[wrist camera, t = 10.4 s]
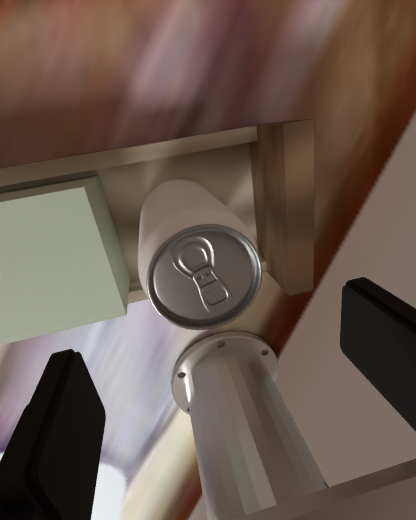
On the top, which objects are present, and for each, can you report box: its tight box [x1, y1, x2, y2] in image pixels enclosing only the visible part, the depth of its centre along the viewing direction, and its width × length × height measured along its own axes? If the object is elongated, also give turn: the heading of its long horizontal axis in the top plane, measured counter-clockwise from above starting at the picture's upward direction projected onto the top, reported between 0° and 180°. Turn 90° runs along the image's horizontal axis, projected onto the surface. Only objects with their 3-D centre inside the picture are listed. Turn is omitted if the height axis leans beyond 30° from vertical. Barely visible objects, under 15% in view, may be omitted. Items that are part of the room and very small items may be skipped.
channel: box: [0, 119, 315, 304], centre depth 21 cm, size 12×30×8 cm, turn 99°
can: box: [138, 179, 262, 330], centre depth 19 cm, size 6×6×12 cm
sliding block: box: [0, 174, 130, 345], centre depth 20 cm, size 9×12×6 cm
